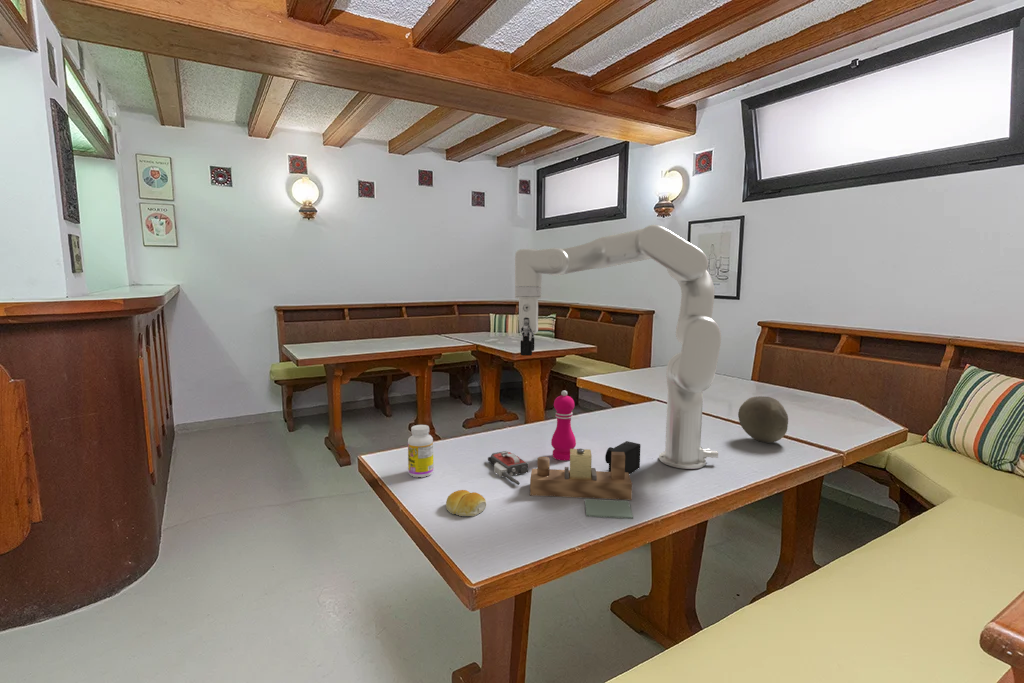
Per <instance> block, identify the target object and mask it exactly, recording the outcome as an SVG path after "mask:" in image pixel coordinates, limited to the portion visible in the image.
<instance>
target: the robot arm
mask: <svg viewBox="0 0 1024 683" xmlns="http://www.w3.org/2000/svg"><path fill="white" fill-rule="evenodd" d="M651 259H652V260H653V261H654V262H656V263H658V264H659V265H660V266H662V267H664V268H665V269H666V270H667V273H668V274H669V276H670V277H671V278H672V279H673V280H675V281H676V282H677V283H678V285H679V287H680V290H681V297H680V298H681V300H680V308H679V313H678V319H677V323H676V324H677V325H676V331H675V335H676V336H675V337H676V339H677V341H678V343H679V344H680V345H681V351H680V352H677V353H676V354H674V355H673V356H672V357H671V358H670V359H669V360H668V362H667V366H666V387H667V392H666V393H667V400H666V401H667V402H666V416H665V417H666V420H665V421H666V422H665V424H666V425H665V441H664V442H665V447H664V449H665V450H664V451H662V452H660V454H659V455H658V456H659V458H658V459H659V461H660V462H661V463H662V464H664V465H667V466H669V467H672V468H677V469H684V470H685V469H687V470H693V469H695V470H697V469H701V468H703V467H705V465H706V463H707V462H706V459H707V458H712V459H714V458H715V459H718V458H719V452H718V451H717V450H711V448H702V446H701V441H702V427H703V426H702V424H703V422H702V421H703V406H704V402H703V401H704V399H703V398H704V397H703V396H704V395H703V392H705V391H706V390H708V389H709V388H710V386H712V384H713V382H714V380H715V375H716V372H717V366H718V361H719V355H720V350H721V344H722V333H721V332H722V331H721V328H720V326H719V324H718V323H717V322H716V321H715V320H714V319H713V309H714V302H715V285H714V281H713V279H712V276H711V274H710V273H709V271H708V267H709V260H708V256H707V255H706V253H705V252H703V250H702V249H700V248H699V247H697V246H696V245H694V244H692V243H691V242H689V241H687V240H685V238H682V237H680V235H677V234H676V233H674V232H673V231H671V230H669V229H667V228H665V226H661V225H658V224H651V225H647V226H645V227H644V228H641V229H635V230H630V231H627V232H620V233H616V234H615V233H614V234H612V235H611V234H609V235H605V236H601V237H598V238H595V239H593V240H591V241H590V242H586V243H583V244H579V245H574V246H570V247H566V248H559V247H551V248H545V249H535V248H521V249H518V250H517V251H515V255H514V260H515V261H514V299H518V325H519V326H518V327H519V330H518V331H519V333H520V334H521V337H520V356H532V355H533V351H535V335H536V334H537V333H538V331H539V299H540V300H541V299H542V282H543V281H542V278H543V277H542V275H543V274H544V275H550V276H554V277H557V276H564V275H567V274H572V273H578V272H583V271H589V270H595V269H596V270H597V269H598V270H599V269H606V268H610V267H616V266H621V265H626V264H631V263H636V262H641V261H647V260H651Z"/></svg>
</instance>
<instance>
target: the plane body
mask: <svg viewBox="0 0 1024 683" xmlns="http://www.w3.org/2000/svg"><path fill="white" fill-rule="evenodd" d="M536 460H537V461H536V462H537V464H536V465H537V466H536V468H531V472H530V480H529V483H530V484H529V495H530V496H533V497H534V496H538V497H539V496H540V497H541V496H542V497H557V498H558V497H559V498H560V497H561V498H580V499H598V500H619V501H632V500H633V499H632V498H633V482H632V479H631V476H630V475H629V473H628V472H625V454H624V452H611V472H609V471H603V470H602V471H601V470H600V471H599V470H597V469H596V467H591V480H583V479H570V466H564V469H555V468H554V469H551V468H550V457H549V456H539V457H537V459H536Z"/></svg>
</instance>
